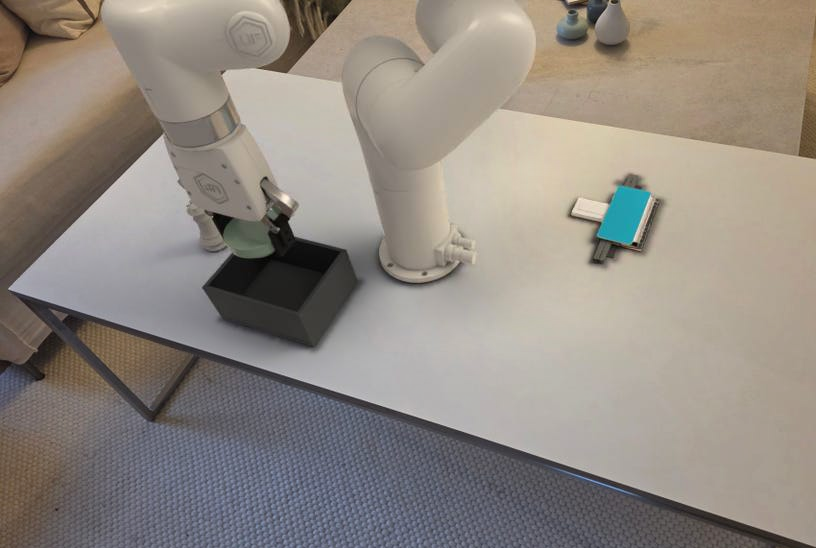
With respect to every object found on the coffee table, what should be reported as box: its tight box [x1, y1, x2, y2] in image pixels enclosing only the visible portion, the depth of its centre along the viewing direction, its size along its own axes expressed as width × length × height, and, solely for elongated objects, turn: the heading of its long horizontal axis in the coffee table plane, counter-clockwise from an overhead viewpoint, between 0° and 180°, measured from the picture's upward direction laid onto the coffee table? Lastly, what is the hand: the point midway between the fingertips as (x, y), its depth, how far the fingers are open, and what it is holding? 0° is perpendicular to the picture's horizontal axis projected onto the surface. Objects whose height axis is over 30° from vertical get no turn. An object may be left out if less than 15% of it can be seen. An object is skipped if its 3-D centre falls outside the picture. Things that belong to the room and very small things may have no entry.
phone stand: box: [571, 173, 661, 264], centre depth 89 cm, size 20×12×2 cm, turn 157°
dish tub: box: [201, 236, 359, 348], centre depth 81 cm, size 15×12×7 cm
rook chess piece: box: [185, 199, 228, 252], centre depth 89 cm, size 4×4×8 cm
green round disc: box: [223, 208, 278, 258], centre depth 74 cm, size 7×7×3 cm
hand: (260, 240), depth 74 cm, fingers closed on green round disc, 7 cm apart
